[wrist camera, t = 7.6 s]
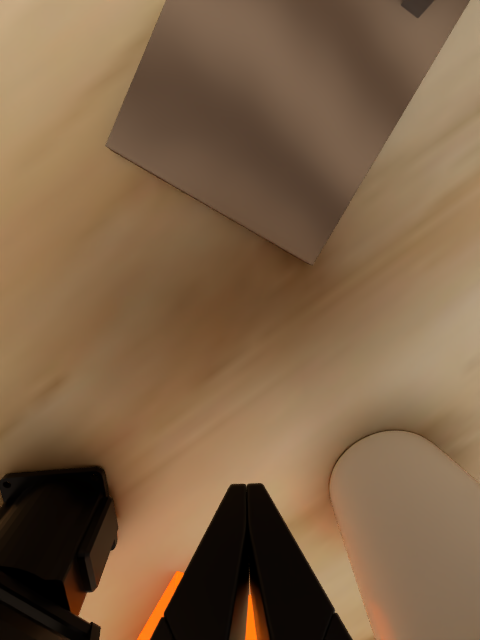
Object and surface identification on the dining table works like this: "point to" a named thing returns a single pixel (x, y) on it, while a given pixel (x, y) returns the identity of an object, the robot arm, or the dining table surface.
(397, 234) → the dining table surface
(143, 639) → the orange juice
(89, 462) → the dining table surface
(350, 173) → the switch base
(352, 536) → the white cup
